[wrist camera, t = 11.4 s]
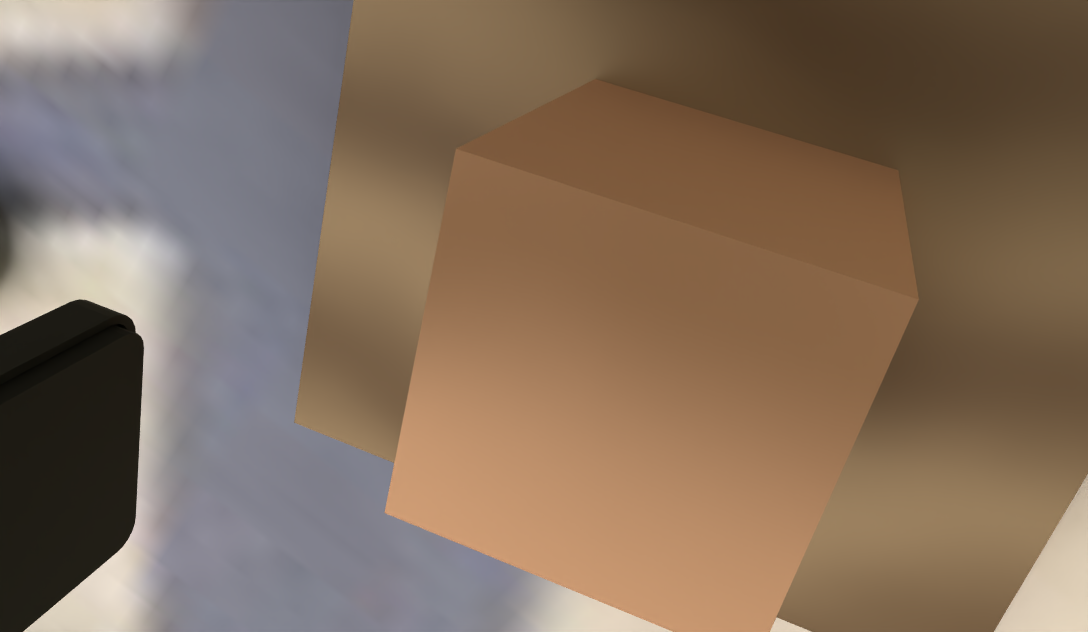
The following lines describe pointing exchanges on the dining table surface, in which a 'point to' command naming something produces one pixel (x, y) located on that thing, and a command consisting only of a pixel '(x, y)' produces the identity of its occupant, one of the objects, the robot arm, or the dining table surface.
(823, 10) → the post stand
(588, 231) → the tan cardboard box
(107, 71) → the dining table surface
